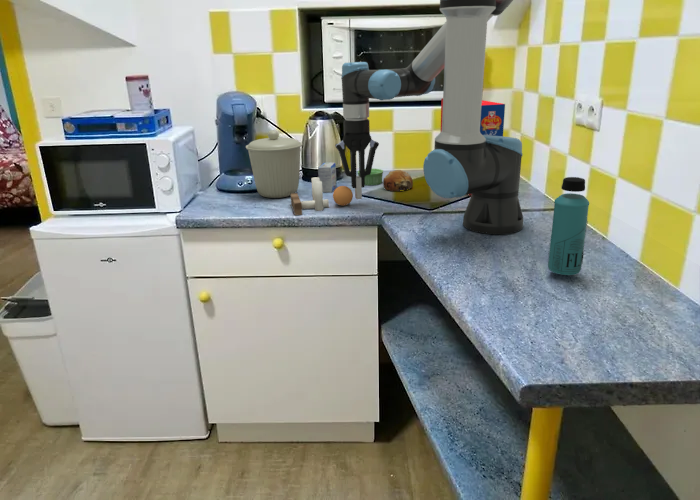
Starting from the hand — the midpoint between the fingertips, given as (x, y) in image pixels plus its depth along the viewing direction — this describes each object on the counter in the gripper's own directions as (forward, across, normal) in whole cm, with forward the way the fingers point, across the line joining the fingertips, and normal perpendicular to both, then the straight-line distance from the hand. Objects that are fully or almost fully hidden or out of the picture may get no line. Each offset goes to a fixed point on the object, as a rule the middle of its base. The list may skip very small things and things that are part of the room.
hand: (358, 198), depth 161 cm
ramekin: (+2, -10, -26) cm, 28 cm away
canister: (+2, +23, -20) cm, 31 cm away
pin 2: (+2, +12, +2) cm, 13 cm away
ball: (-1, +5, 0) cm, 5 cm away
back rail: (+2, +19, 0) cm, 19 cm away
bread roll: (+2, -17, -16) cm, 23 cm away
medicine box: (+2, +6, -21) cm, 22 cm away
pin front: (+1, +9, 0) cm, 9 cm away
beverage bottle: (+2, -28, +65) cm, 71 cm away
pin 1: (+2, +12, -2) cm, 13 cm away
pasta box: (+2, -39, -9) cm, 40 cm away
